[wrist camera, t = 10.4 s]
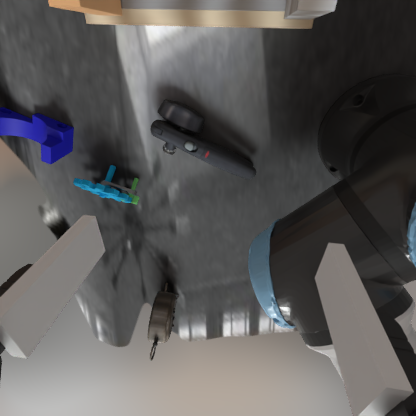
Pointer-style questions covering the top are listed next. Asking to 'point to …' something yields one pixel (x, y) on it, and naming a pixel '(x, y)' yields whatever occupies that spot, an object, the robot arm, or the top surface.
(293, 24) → the plate
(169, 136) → the can opener
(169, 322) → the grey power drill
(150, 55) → the top surface
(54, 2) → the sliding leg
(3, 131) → the cable clip
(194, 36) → the top surface
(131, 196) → the gear
